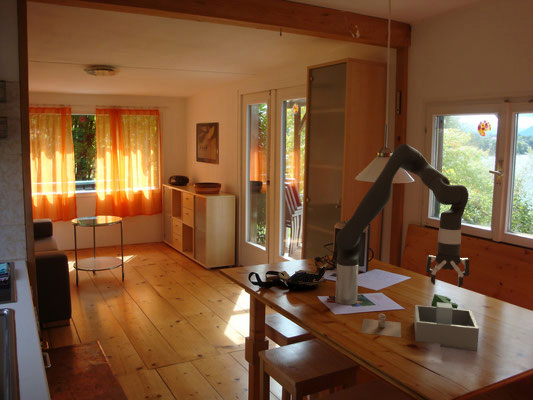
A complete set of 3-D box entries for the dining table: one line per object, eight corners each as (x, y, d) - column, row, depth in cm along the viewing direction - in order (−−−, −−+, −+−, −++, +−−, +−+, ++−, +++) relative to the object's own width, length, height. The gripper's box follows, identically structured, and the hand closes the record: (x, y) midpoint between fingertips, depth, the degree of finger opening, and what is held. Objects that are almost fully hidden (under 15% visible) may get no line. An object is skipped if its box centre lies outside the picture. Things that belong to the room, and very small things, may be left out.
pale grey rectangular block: (435, 330, 173) (436, 302, 171) (449, 332, 171) (451, 303, 170) (435, 336, 168) (437, 306, 166) (450, 338, 166) (452, 308, 165)
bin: (415, 343, 164) (416, 322, 163) (414, 324, 181) (415, 304, 180) (477, 351, 158) (478, 328, 157) (469, 330, 176) (471, 310, 175)
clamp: (450, 324, 192) (460, 309, 188) (436, 321, 192) (446, 305, 188) (442, 304, 203) (452, 289, 198) (429, 301, 202) (438, 286, 198)
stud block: (361, 335, 171) (361, 318, 170) (363, 321, 184) (364, 305, 183) (400, 339, 167) (401, 322, 166) (400, 325, 180) (401, 309, 180)
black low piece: (270, 280, 237) (270, 265, 236) (323, 275, 247) (323, 261, 246) (286, 294, 216) (286, 278, 215) (343, 288, 226) (344, 272, 225)
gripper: (469, 240, 167) (466, 284, 169) (427, 237, 171) (424, 280, 173) (472, 244, 160) (469, 290, 162) (428, 241, 163) (425, 286, 165)
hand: (446, 285), depth 167 cm, fingers open, 8 cm apart
